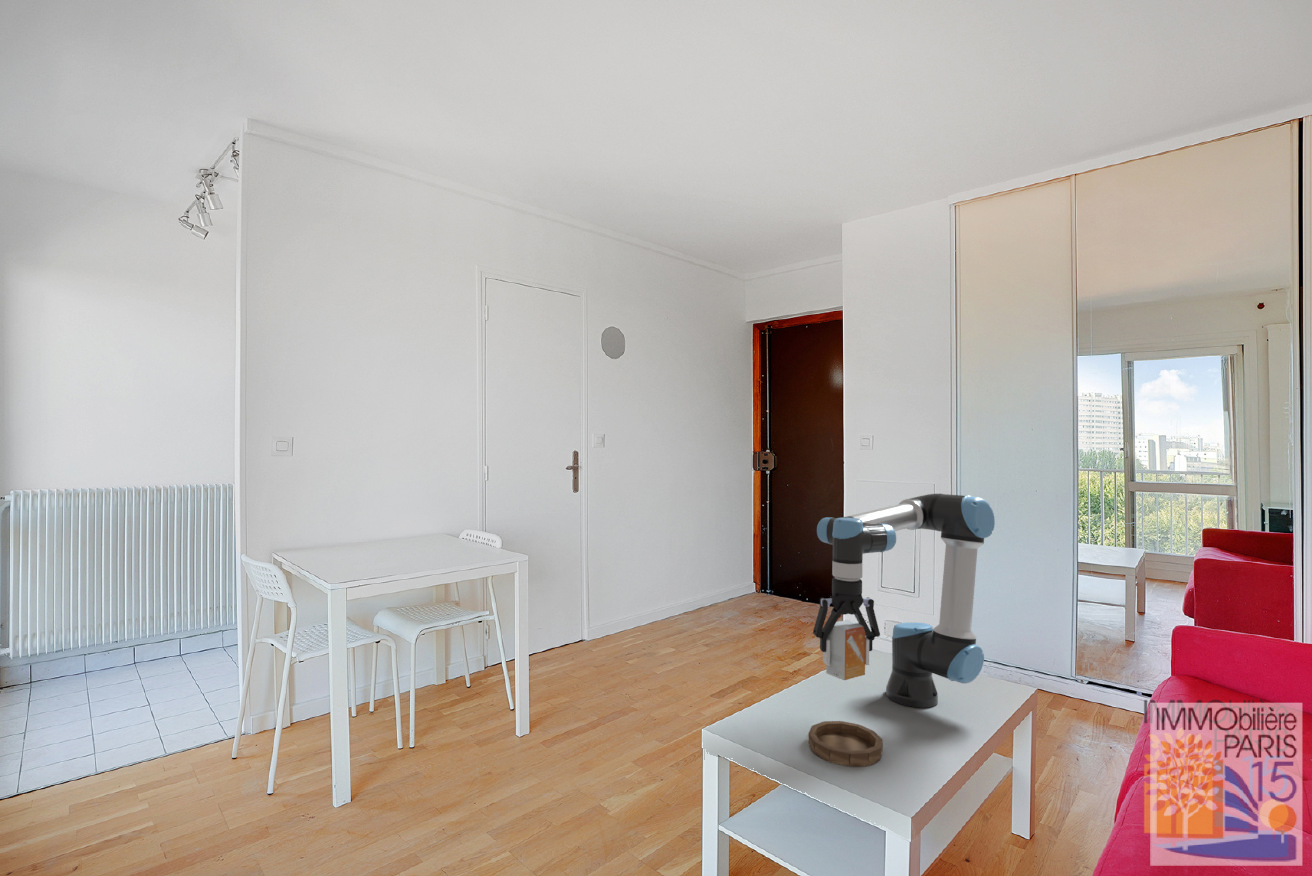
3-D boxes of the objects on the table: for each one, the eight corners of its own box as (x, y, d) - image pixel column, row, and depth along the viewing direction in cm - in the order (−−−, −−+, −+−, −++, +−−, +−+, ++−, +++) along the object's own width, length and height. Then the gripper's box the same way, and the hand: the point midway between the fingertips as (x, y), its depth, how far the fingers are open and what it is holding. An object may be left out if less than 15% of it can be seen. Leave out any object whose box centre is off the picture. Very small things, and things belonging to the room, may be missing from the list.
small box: (844, 681, 160) (845, 629, 160) (825, 673, 165) (825, 623, 165) (866, 675, 164) (866, 625, 164) (846, 667, 169) (846, 619, 169)
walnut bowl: (863, 732, 174) (864, 720, 174) (894, 765, 156) (894, 752, 156) (800, 734, 172) (800, 722, 172) (823, 768, 154) (823, 754, 154)
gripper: (882, 574, 169) (881, 658, 169) (800, 575, 167) (799, 659, 167) (895, 580, 162) (894, 668, 162) (810, 581, 160) (808, 669, 160)
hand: (845, 663), depth 164 cm, fingers closed on small box, 10 cm apart
